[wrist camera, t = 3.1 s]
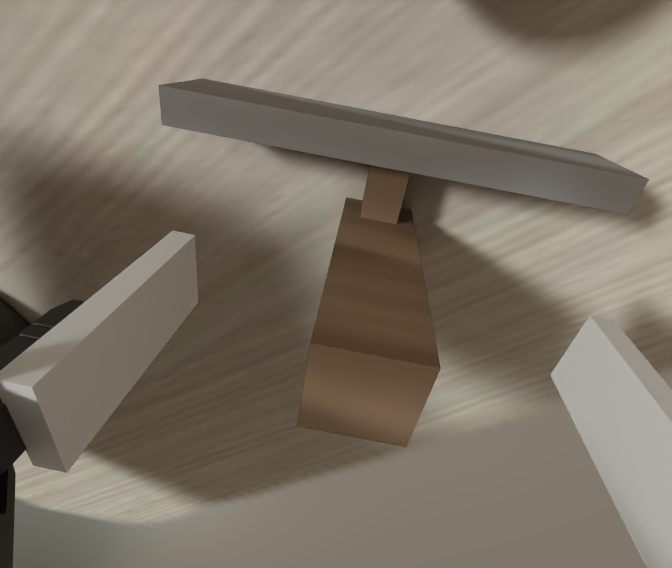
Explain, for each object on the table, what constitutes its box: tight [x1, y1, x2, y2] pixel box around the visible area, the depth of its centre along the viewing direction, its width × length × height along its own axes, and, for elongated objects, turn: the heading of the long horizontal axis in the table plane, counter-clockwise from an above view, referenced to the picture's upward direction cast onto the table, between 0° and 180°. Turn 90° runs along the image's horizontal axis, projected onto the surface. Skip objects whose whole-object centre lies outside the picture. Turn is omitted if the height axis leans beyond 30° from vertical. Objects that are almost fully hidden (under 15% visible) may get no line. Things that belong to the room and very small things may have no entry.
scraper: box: [159, 79, 649, 447], centre depth 12 cm, size 7×16×10 cm, turn 81°
